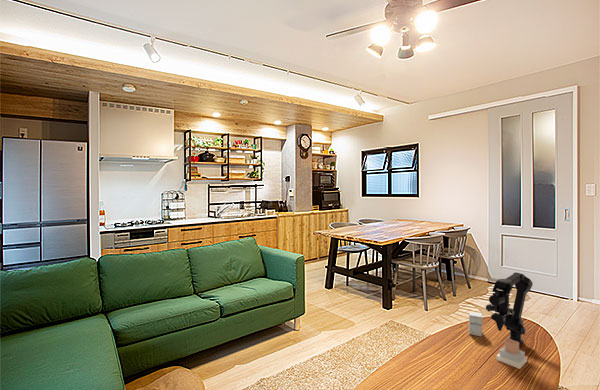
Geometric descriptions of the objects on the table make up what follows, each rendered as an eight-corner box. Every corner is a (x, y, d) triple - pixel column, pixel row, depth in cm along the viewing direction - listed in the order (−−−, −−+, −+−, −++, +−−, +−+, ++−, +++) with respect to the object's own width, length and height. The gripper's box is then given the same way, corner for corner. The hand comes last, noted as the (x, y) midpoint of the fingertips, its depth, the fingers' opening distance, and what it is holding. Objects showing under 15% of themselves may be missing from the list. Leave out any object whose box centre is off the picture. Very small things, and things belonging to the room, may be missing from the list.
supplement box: (468, 334, 202) (469, 315, 201) (468, 329, 208) (469, 310, 208) (482, 337, 198) (482, 317, 198) (481, 332, 205) (481, 312, 204)
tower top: (505, 350, 178) (506, 345, 178) (524, 357, 171) (524, 351, 171) (499, 355, 173) (499, 350, 172) (518, 363, 165) (518, 357, 165)
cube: (508, 347, 175) (508, 338, 175) (519, 351, 171) (519, 342, 171) (504, 350, 173) (504, 341, 172) (515, 354, 168) (515, 344, 168)
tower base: (503, 354, 180) (504, 348, 180) (526, 362, 171) (526, 357, 171) (496, 360, 173) (496, 355, 173) (519, 370, 164) (520, 364, 164)
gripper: (493, 294, 195) (493, 319, 196) (481, 301, 184) (481, 328, 184) (514, 299, 187) (514, 325, 187) (503, 307, 175) (502, 335, 176)
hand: (502, 328), depth 184 cm, fingers open, 9 cm apart
